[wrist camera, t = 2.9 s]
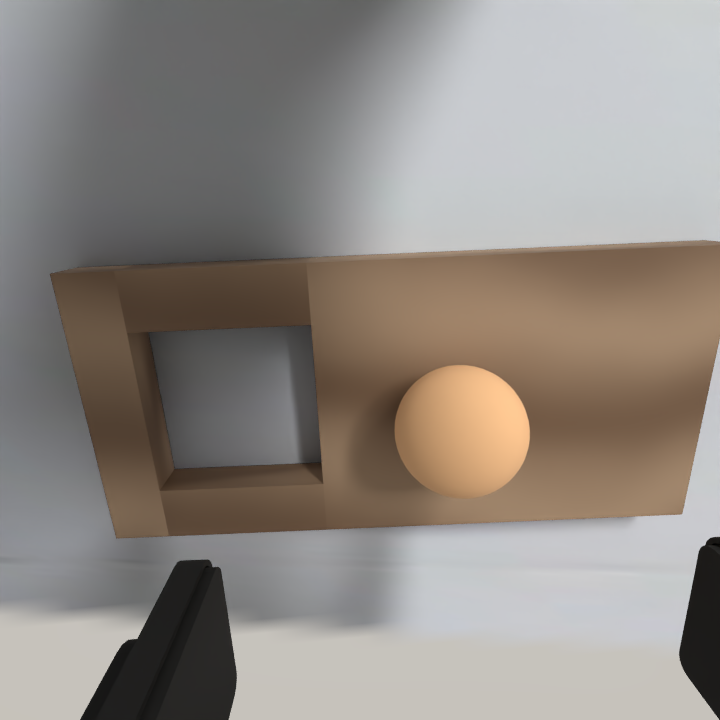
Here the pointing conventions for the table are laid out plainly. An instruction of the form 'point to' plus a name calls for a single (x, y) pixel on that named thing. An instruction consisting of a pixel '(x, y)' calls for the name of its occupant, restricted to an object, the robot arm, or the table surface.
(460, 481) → the ball
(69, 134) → the table surface
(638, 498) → the board
